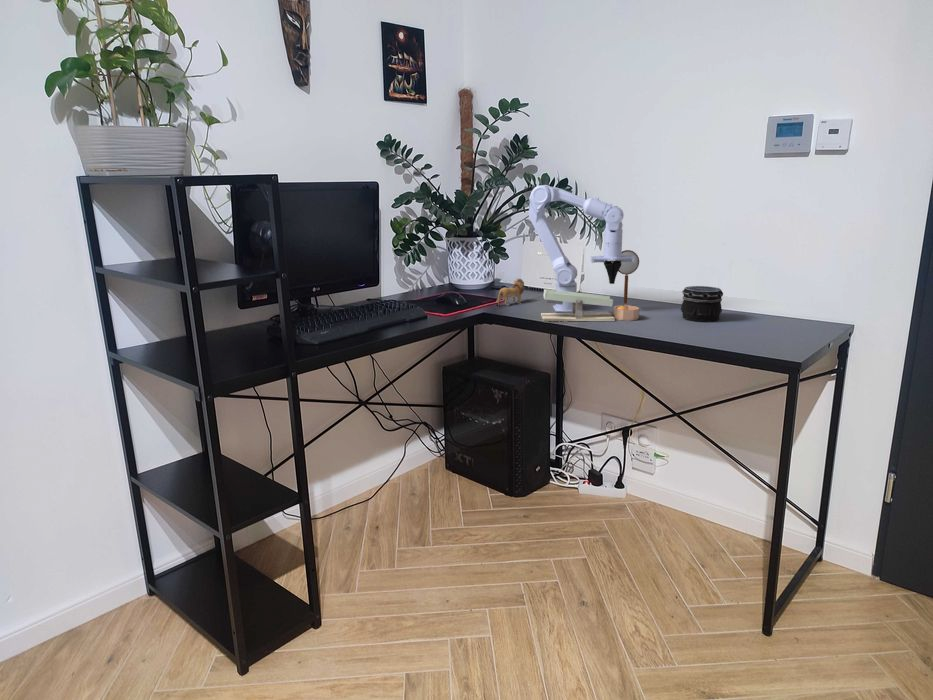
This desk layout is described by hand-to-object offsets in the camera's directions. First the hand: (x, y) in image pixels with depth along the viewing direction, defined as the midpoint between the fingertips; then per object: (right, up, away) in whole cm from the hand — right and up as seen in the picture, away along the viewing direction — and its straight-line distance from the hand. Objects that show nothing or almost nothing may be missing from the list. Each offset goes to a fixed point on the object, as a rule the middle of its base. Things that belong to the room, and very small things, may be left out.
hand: (611, 283), depth 226 cm
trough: (-13, -7, -5) cm, 16 cm away
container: (+27, -13, -10) cm, 31 cm away
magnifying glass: (+7, -7, +12) cm, 16 cm away
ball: (+1, -10, -8) cm, 13 cm away
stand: (-13, -12, -7) cm, 19 cm away
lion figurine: (-33, -6, +19) cm, 39 cm away
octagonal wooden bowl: (+3, -12, -8) cm, 15 cm away
